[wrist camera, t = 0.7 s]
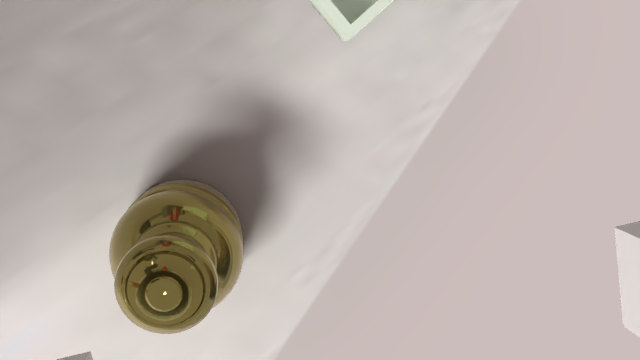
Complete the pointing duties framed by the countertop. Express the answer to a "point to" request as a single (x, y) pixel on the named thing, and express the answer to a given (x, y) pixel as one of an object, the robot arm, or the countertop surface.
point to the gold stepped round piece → (175, 255)
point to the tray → (349, 14)
